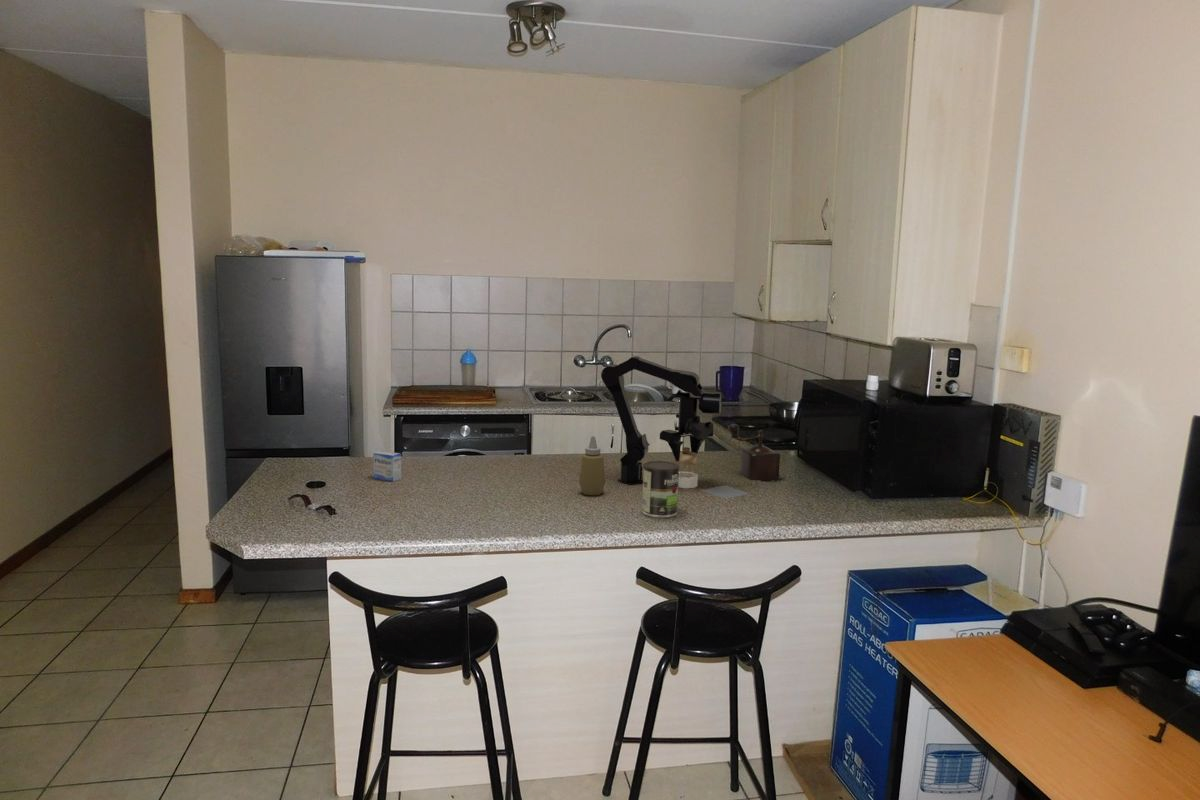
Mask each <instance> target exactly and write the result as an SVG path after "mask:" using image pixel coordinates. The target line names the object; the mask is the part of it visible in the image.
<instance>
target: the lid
mask: <svg viewBox="0 0 1200 800" xmlns="http://www.w3.org/2000/svg"><path fill="white" fill-rule="evenodd" d="M697 454H698V453H697ZM697 454H696V453H694V452H691V447H687V446H684V447H682V450H680V459H679V461H676V460H675V459H674V463H676V464H678V465H683V466H684V465H685V466H686V465H687V466H689V465H690V466H691V465H695V464H697Z"/></svg>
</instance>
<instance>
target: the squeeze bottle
mask: <svg viewBox="0 0 1200 800" xmlns="http://www.w3.org/2000/svg"><path fill="white" fill-rule="evenodd" d="M584 449H585V451H584V452H585V453H584V454H583V455H582V456H581V463H580V471H579V472H580V473H579V480H578V482H579V486H580V490H581V492H582V494H584V495H586V496H598V495H601V494H602V492H603V489H604V486H605V484H606V475H605V465H604V464H605V463H604V456H603V455H602V454H601V447H598V446H597V440H596V436H593V435H591V437H590V441H589V445H588V446H586V447H585V448H584Z"/></svg>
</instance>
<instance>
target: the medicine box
mask: <svg viewBox="0 0 1200 800" xmlns="http://www.w3.org/2000/svg"><path fill="white" fill-rule="evenodd" d="M372 466H373V479H374V480H377V481H379V480H380V481H387V482H396V481H399V480H401V479H402V453H401V452H393V451H387V450H386V451H385V450H384V451H383V450H379V451H375V452H373V465H372Z"/></svg>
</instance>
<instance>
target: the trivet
mask: <svg viewBox="0 0 1200 800" xmlns="http://www.w3.org/2000/svg"><path fill="white" fill-rule="evenodd" d="M699 491H701V492H702V493H706V494H709V495H711V496H715V497H718V498H721V499H723V500H727V499H732V498H737V497H740V496H745V495H751V492H747V491H743V490H741V489H737V488H734V487H732V486H728V485H720V486H716V487H715V486H714V487H710V488H706V489H705V488H704V489H700V490H699Z"/></svg>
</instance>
